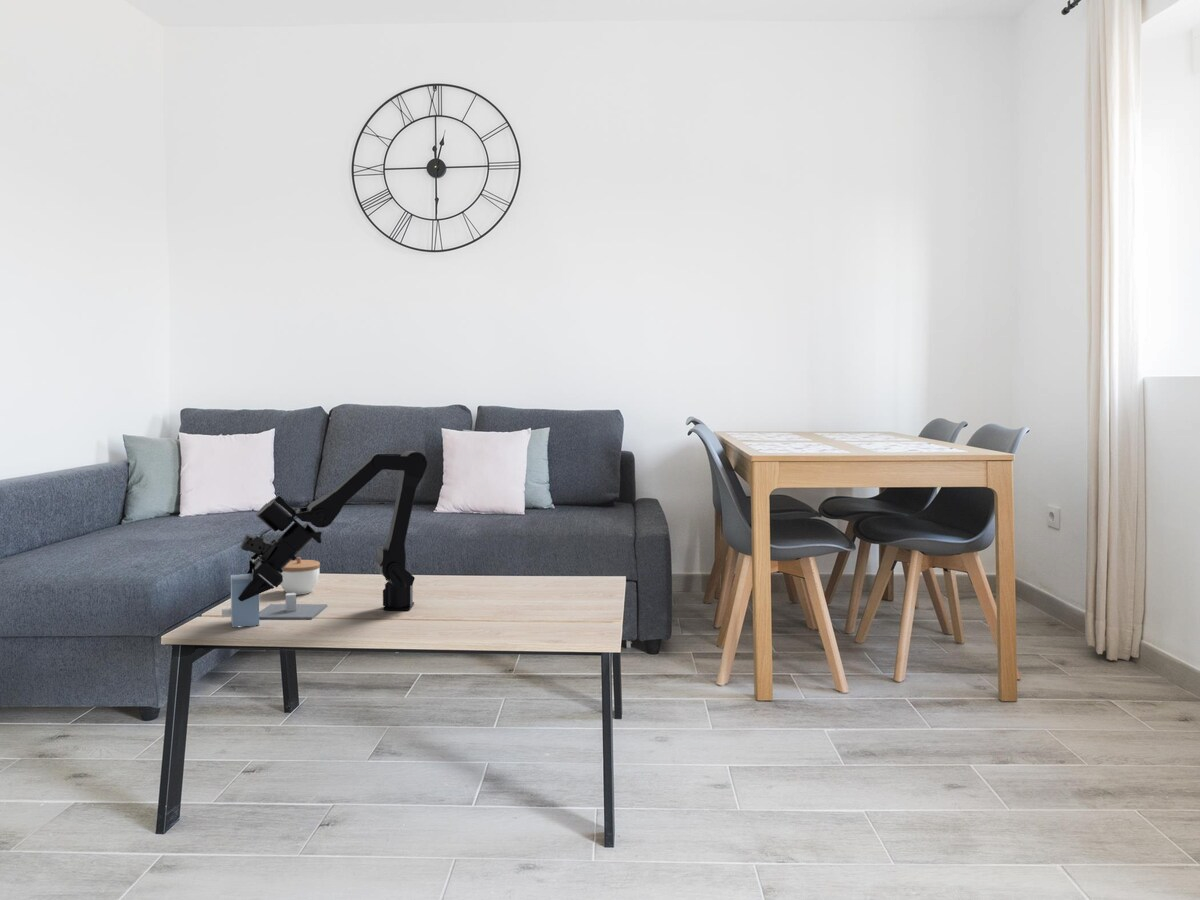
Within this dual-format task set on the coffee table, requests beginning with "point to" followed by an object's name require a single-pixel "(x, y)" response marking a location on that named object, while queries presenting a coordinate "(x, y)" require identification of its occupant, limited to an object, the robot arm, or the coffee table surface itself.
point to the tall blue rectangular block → (242, 603)
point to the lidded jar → (300, 576)
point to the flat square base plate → (291, 609)
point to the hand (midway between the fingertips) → (238, 595)
